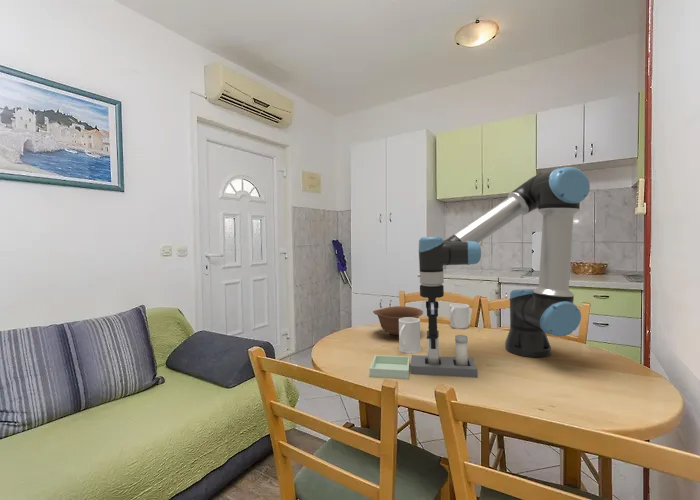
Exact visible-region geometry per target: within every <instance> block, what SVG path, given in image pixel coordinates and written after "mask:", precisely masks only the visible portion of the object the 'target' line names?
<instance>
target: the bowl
mask: <svg viewBox="0 0 700 500" xmlns="http://www.w3.org/2000/svg"><path fill="white" fill-rule="evenodd" d="M372 312H373V314H374V315H376V316H377V318H378V319H379V320H378V321H379V324H380V327H381V328H382V330H383V331H384V332H386V333H388V335H387V336H389V337H390V338H393V339H399V319H400V318H405V317H413V318H418V319H419V318H420V317H421V316H422V315H424V314H423V313H424V310H422V309H420V308H417V307H415V306H414V307H413V306H403V305H402V306H399V305H397V306H396V305H395V306H388V307H384V308H383V307H382V308H380V309H375V310H373V311H372Z"/></svg>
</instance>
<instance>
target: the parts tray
mask: <svg viewBox="0 0 700 500" xmlns="http://www.w3.org/2000/svg"><path fill="white" fill-rule="evenodd" d="M410 371H411V357H410V356H402V355H401V356H400V355H398V356H397V355H383V354H382V355H381V354H380V355H379V354H378V355H376V354H374V355H373V358H372V362H371V364H370V367H369V378H371V377H372V378H385V379H402V380H409V378H410Z"/></svg>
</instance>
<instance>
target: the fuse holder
mask: <svg viewBox="0 0 700 500" xmlns="http://www.w3.org/2000/svg"><path fill="white" fill-rule="evenodd" d="M454 342H455V356H441V355H439V365H438V364H428V355H421V354H420V355H418V354H412V355H411V357H410V375H421V376H422V375H425V376H438V377H439V376H442V377H456V378H457V377H458V378H472V379H473V378H478V369H477V368H478V367H477V365H476V363H475V360H474V358H473V357H468V342H469V341H468V336H467V335H464V334H457V335H455V336H454Z"/></svg>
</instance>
